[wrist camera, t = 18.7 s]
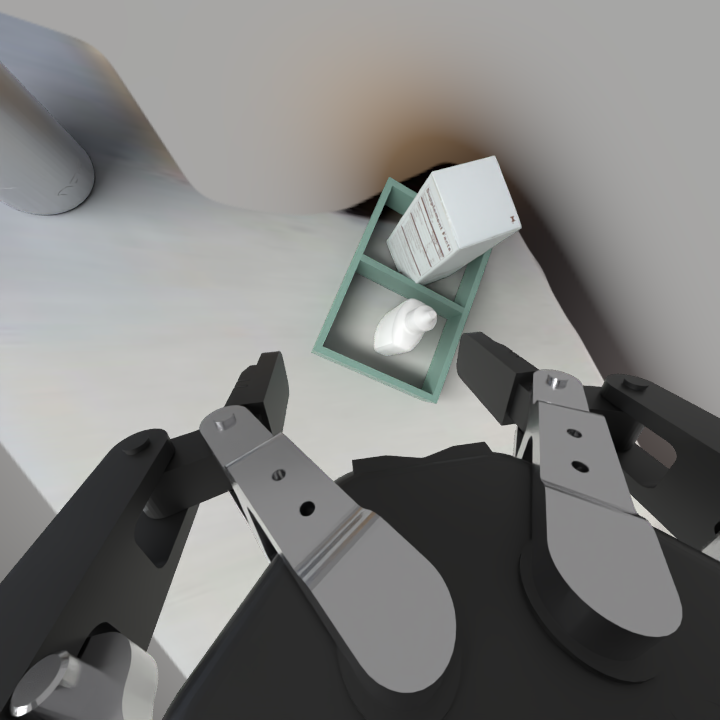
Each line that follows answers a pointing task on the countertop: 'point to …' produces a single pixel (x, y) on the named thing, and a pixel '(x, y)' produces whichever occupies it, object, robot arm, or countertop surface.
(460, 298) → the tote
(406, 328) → the eye dropper bottle
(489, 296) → the countertop surface
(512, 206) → the supplement box
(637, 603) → the robot arm
